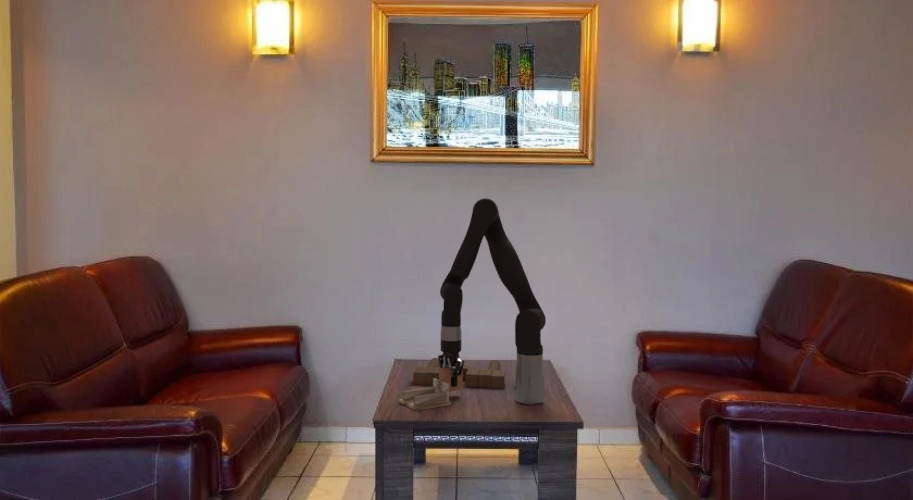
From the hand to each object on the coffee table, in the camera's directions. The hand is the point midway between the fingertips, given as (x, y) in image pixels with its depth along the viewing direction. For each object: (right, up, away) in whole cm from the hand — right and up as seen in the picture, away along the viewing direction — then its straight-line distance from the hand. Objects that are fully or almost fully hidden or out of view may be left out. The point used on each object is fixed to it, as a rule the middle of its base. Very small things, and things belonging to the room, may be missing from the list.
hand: (450, 385), depth 250 cm
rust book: (0, -2, 0) cm, 2 cm away
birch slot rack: (-9, -5, -8) cm, 13 cm away
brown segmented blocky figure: (+4, -3, +30) cm, 30 cm away
